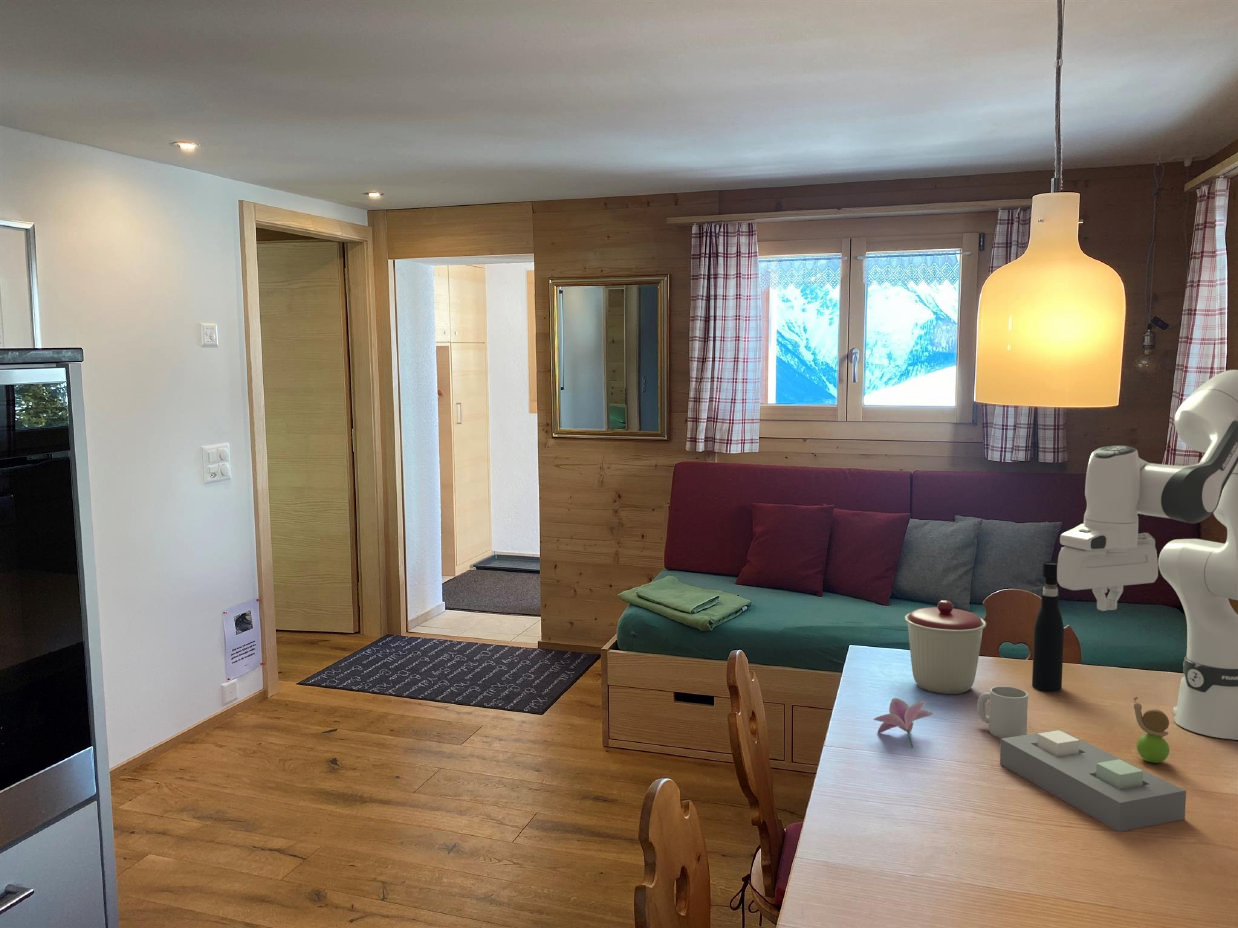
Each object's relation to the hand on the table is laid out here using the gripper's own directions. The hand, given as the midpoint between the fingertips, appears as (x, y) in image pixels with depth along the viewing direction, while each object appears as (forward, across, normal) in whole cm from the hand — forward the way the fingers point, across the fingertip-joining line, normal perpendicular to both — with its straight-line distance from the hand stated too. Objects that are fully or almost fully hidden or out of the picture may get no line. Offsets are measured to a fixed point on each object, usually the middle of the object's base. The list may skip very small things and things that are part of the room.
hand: (1106, 609), depth 171 cm
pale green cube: (+29, +8, +12) cm, 32 cm away
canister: (+31, -2, -49) cm, 58 cm away
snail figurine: (+31, -13, -1) cm, 34 cm away
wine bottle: (+31, -25, -41) cm, 57 cm away
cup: (+31, +4, -22) cm, 38 cm away
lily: (+31, +25, -25) cm, 48 cm away
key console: (+31, +8, +5) cm, 32 cm away
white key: (+29, +8, -2) cm, 30 cm away
